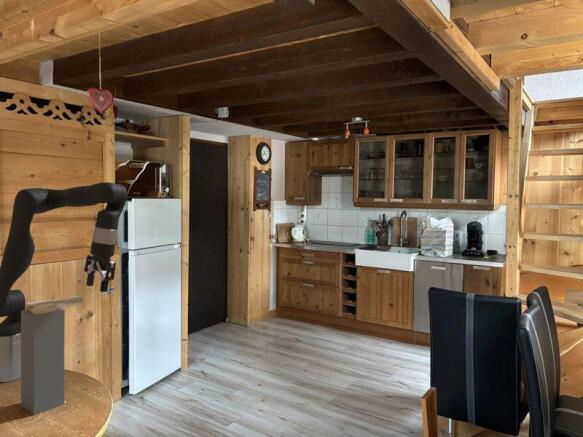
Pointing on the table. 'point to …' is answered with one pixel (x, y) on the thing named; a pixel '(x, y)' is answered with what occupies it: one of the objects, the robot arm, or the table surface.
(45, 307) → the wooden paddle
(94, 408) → the table surface
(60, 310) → the tall grey pillar
